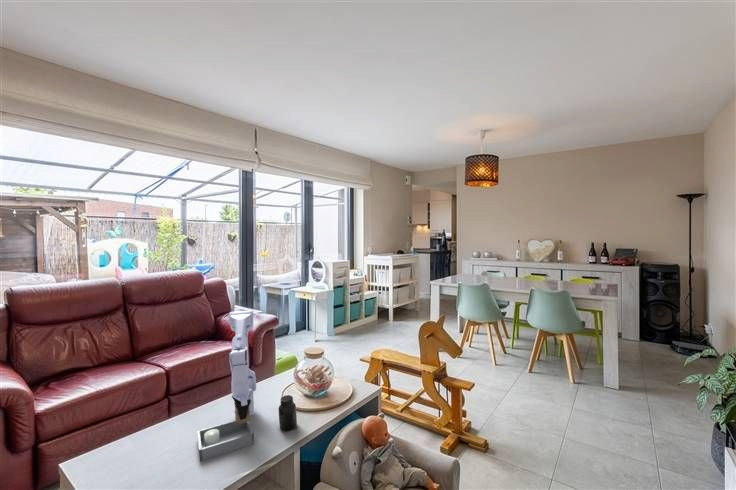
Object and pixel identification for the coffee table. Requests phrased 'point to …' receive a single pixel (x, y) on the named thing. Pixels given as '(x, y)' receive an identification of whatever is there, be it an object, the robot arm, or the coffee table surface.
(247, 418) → the walnut block
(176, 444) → the coffee table surface
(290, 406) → the supplement bottle
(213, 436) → the pale green cylinder
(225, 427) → the tote
